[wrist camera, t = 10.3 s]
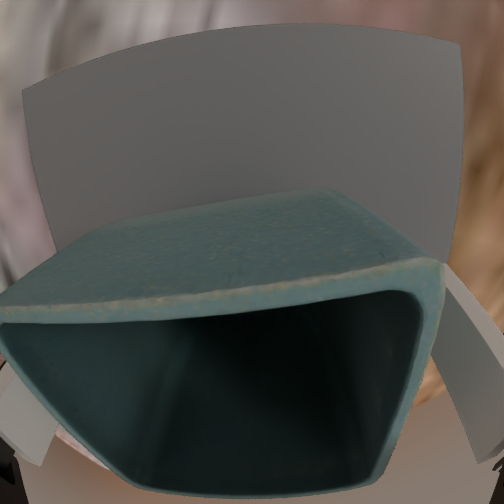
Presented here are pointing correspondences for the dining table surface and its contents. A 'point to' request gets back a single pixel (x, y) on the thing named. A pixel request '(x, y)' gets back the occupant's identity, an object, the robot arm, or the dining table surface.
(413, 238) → the plinth
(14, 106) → the dining table surface
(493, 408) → the robot arm
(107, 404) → the flower pot
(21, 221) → the dining table surface
